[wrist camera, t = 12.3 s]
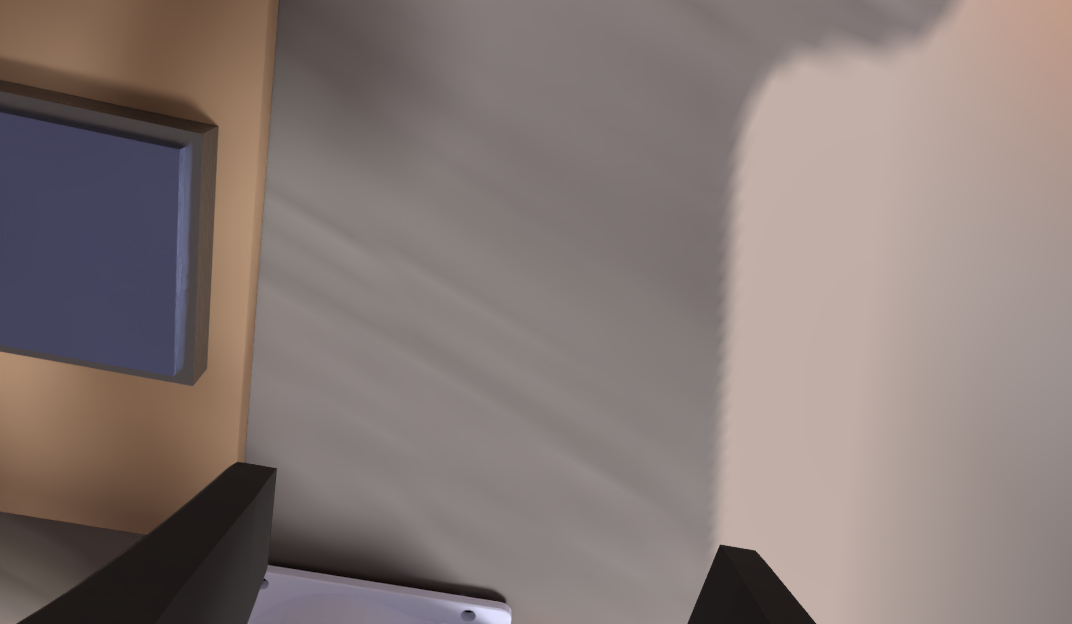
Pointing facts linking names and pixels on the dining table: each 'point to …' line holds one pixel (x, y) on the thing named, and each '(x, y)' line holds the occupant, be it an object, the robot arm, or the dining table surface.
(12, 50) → the stamping board
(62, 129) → the ink pad
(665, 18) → the dining table surface
